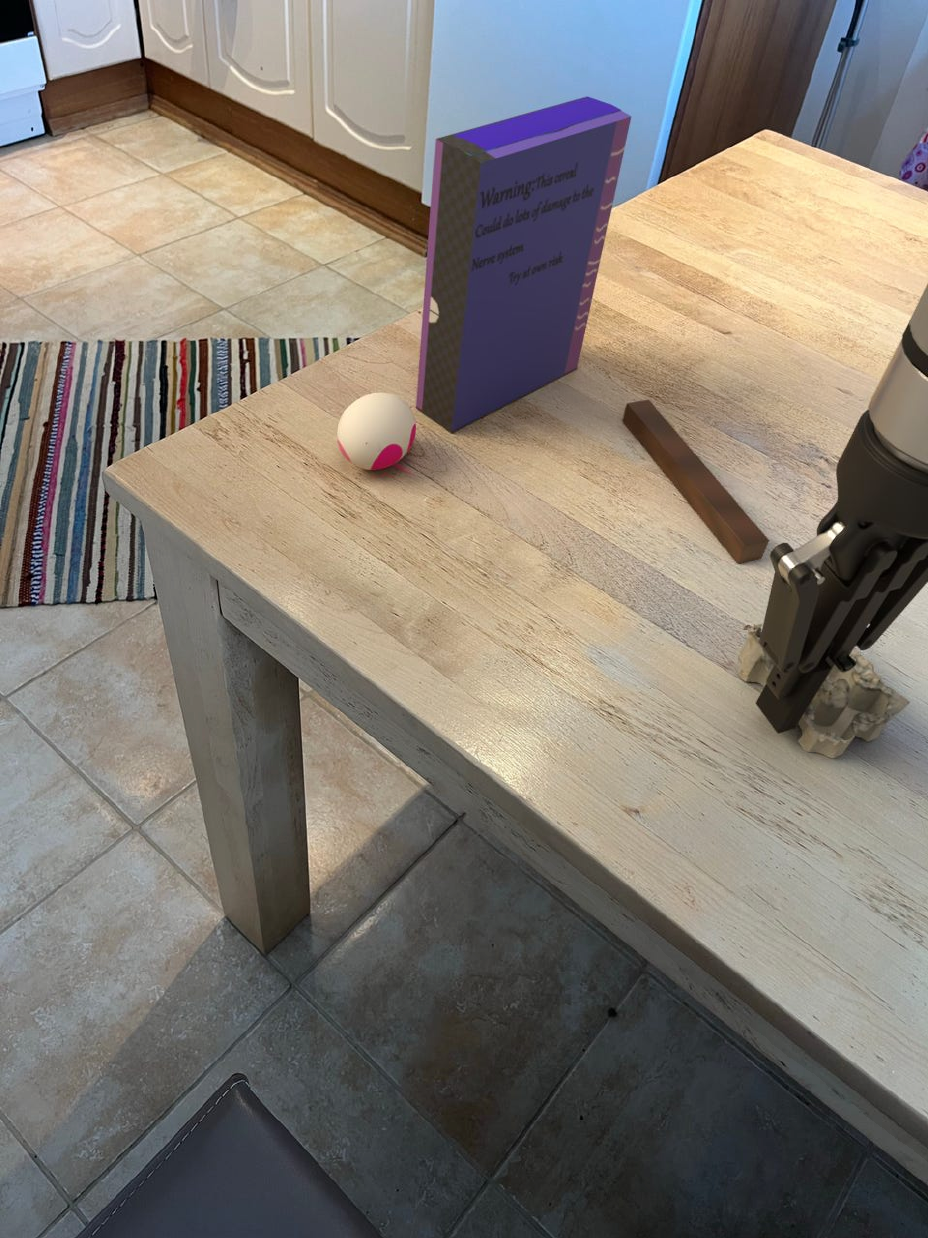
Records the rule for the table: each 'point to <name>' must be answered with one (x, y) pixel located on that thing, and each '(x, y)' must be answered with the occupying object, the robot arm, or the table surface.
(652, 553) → the table surface
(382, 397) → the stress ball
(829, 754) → the egg carton
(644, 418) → the walnut stick
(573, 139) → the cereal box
